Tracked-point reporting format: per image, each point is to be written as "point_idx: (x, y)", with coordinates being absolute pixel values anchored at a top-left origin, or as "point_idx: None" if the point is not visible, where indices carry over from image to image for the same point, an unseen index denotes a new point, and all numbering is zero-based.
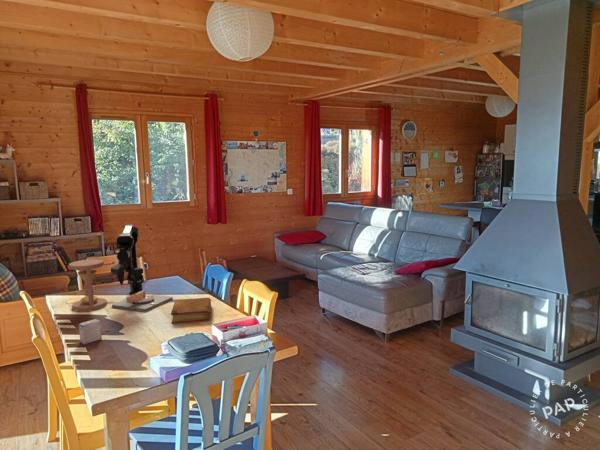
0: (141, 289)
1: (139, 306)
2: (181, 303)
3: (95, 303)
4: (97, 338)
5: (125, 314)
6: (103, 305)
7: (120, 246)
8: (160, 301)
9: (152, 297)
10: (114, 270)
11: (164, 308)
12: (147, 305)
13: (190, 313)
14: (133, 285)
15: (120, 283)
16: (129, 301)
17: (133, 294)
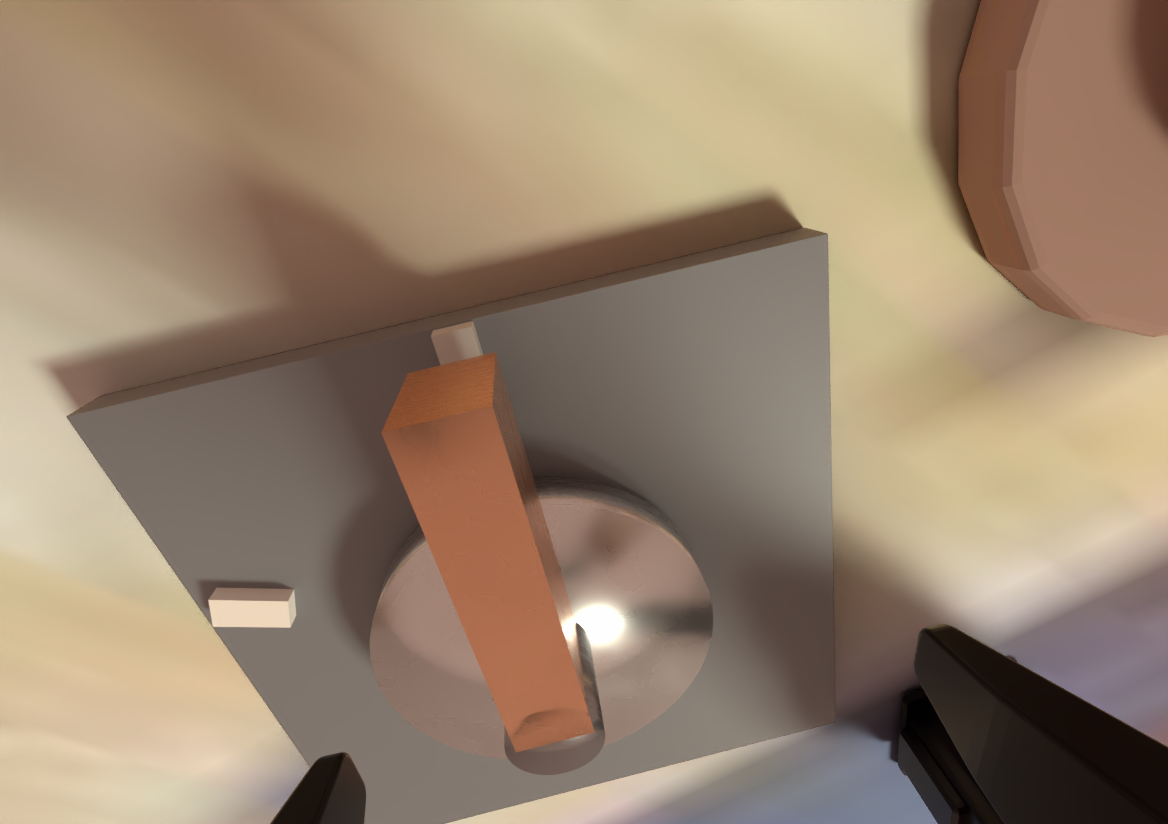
0: (915, 776)
1: (312, 441)
2: None
3: (1155, 51)
4: None
5: (229, 105)
6: (974, 151)
7: None
8: (300, 708)
9: (409, 714)
10: None
11: (67, 623)
12: (258, 534)
13: None
14: (301, 794)
15: (988, 656)
16: (426, 380)
17: (516, 572)
